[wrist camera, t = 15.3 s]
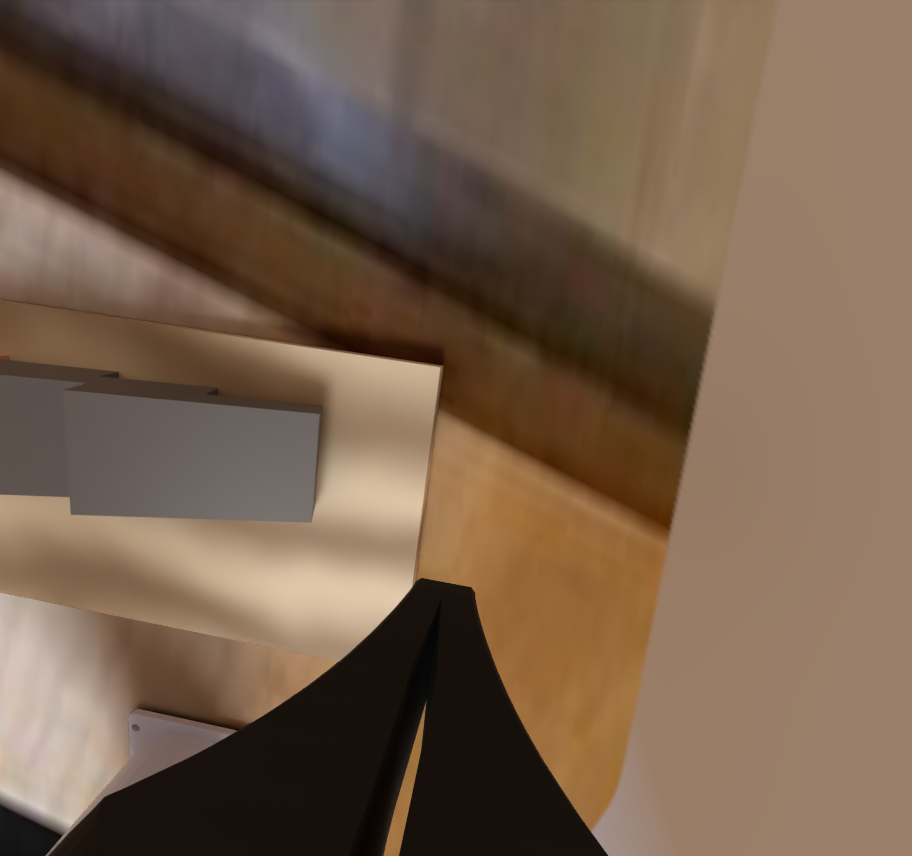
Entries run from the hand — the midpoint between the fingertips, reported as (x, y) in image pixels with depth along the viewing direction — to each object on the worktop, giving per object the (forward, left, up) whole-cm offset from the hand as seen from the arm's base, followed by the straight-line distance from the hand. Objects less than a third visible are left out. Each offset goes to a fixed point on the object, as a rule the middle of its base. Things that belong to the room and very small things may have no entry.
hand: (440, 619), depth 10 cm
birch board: (-3, +17, -10) cm, 20 cm away
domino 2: (0, +7, -9) cm, 11 cm away
